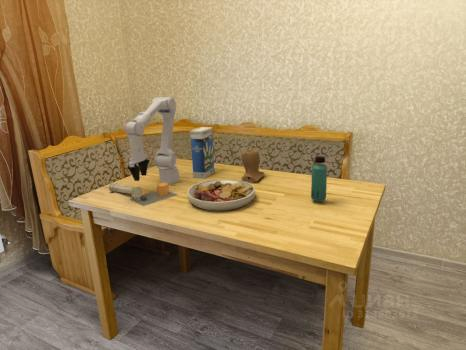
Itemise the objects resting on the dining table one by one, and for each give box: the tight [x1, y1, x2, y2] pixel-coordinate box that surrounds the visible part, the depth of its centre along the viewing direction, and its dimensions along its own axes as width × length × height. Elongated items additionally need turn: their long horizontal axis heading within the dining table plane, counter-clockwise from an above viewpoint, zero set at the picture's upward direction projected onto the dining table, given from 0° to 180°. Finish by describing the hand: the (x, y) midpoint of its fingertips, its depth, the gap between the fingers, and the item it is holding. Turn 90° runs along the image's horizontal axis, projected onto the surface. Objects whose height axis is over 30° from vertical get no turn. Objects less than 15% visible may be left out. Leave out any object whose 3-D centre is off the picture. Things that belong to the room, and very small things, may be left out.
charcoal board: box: [129, 190, 178, 207], centre depth 153 cm, size 18×12×4 cm, turn 135°
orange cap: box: [156, 182, 170, 196], centre depth 156 cm, size 5×5×5 cm
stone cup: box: [240, 149, 265, 183], centre depth 176 cm, size 15×12×15 cm
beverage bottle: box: [310, 155, 328, 202], centre depth 141 cm, size 6×7×20 cm
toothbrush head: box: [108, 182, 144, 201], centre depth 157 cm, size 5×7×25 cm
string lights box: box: [189, 126, 215, 179], centre depth 183 cm, size 13×8×26 cm, turn 159°
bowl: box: [187, 178, 256, 212], centre depth 149 cm, size 30×30×8 cm
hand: (140, 177), depth 153 cm, fingers open, 7 cm apart
